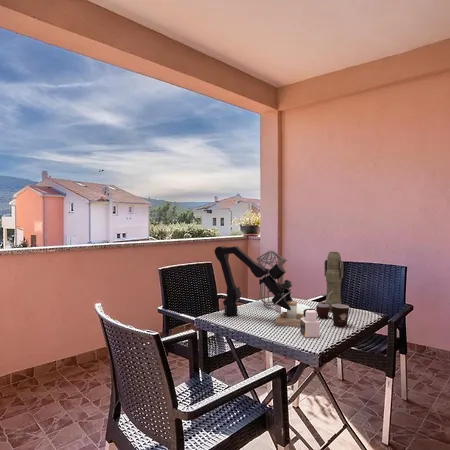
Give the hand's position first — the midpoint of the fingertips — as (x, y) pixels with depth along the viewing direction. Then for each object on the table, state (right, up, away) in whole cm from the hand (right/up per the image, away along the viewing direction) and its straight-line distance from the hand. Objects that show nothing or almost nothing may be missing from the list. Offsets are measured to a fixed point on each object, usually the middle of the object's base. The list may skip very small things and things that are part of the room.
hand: (292, 307), depth 188 cm
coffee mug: (+22, -8, -3) cm, 24 cm away
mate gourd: (+19, -8, +11) cm, 23 cm away
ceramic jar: (0, -8, 0) cm, 8 cm away
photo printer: (-1, -8, +21) cm, 22 cm away
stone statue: (+29, -8, +25) cm, 39 cm away
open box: (0, -8, 0) cm, 8 cm away
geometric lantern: (-7, -7, +34) cm, 35 cm away
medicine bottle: (+4, -8, -19) cm, 22 cm away
